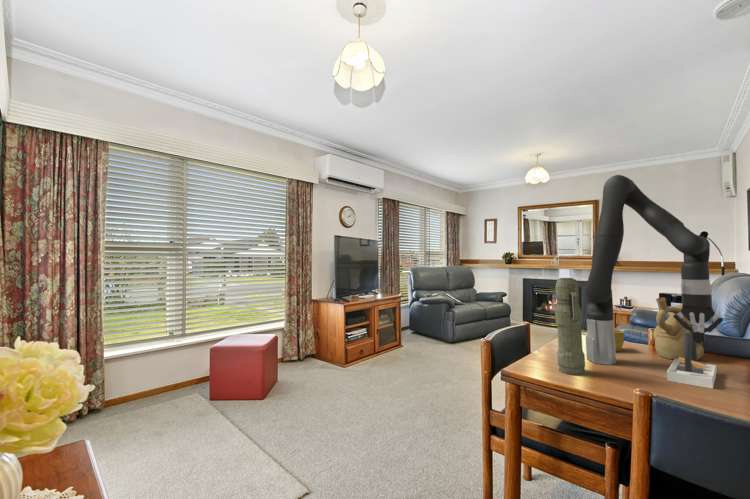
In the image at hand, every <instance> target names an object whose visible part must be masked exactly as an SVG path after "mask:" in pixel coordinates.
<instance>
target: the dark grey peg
mask: <svg viewBox="0 0 750 499" xmlns="http://www.w3.org/2000/svg"><path fill="white" fill-rule="evenodd" d="M683 345H684V359H685V371H687V372H692V365H691V352H690V338H689V333H687V332H684V333H683Z"/></svg>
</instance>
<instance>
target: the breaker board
mask: <svg viewBox="0 0 750 499" xmlns="http://www.w3.org/2000/svg"><path fill="white" fill-rule="evenodd" d="M695 362H698V363H701V364H705V365H706V369H705V370H704V369H703V368H697V367H694V366H693V367H692V372H687V371H685V363H682V362H678V359H675V360H673V361H672V363H671V364H670V366H669V367H668V368H667V370H666V381H668V382H673V383H680V384H685V385H690V386H691V385H692V386H695V387H696V386H697V387H702V388H708V389H711V390H712V389H714V386H715V382H716V378H717V375H716V374H718V373H717V364H716V365H715V364H710V363H706V361H699V360H697V361H695Z"/></svg>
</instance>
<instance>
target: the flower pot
mask: <svg viewBox="0 0 750 499" xmlns="http://www.w3.org/2000/svg"><path fill="white" fill-rule="evenodd" d="M614 335H615V350H616V352H619V351H621V349H622V348H623V345H624V341H625V332H624V331H621V330H619V329H617V328H614Z"/></svg>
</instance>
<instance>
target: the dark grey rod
mask: <svg viewBox="0 0 750 499" xmlns="http://www.w3.org/2000/svg"><path fill="white" fill-rule="evenodd" d="M690 326H691V327H692V325H690ZM689 337H690V350H691V360H694V361H698V360H697V351H696V342H695V341H694V340H693V332H692V331H690V330H689Z"/></svg>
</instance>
